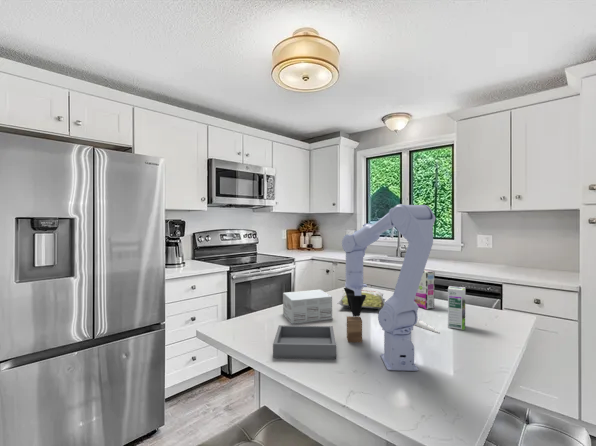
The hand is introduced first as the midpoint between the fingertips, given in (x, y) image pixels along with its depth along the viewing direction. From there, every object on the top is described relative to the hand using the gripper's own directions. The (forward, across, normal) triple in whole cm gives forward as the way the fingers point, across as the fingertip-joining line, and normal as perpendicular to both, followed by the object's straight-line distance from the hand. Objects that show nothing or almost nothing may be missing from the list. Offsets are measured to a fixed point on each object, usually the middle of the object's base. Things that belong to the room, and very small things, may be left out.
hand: (354, 312), depth 108 cm
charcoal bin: (+9, -6, +16) cm, 20 cm away
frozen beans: (+10, +43, -10) cm, 45 cm away
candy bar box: (+9, +40, -36) cm, 55 cm away
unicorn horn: (+10, +17, -25) cm, 31 cm away
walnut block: (+9, 0, 0) cm, 9 cm away
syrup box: (+9, +13, -40) cm, 42 cm away
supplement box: (+10, +24, +15) cm, 30 cm away
